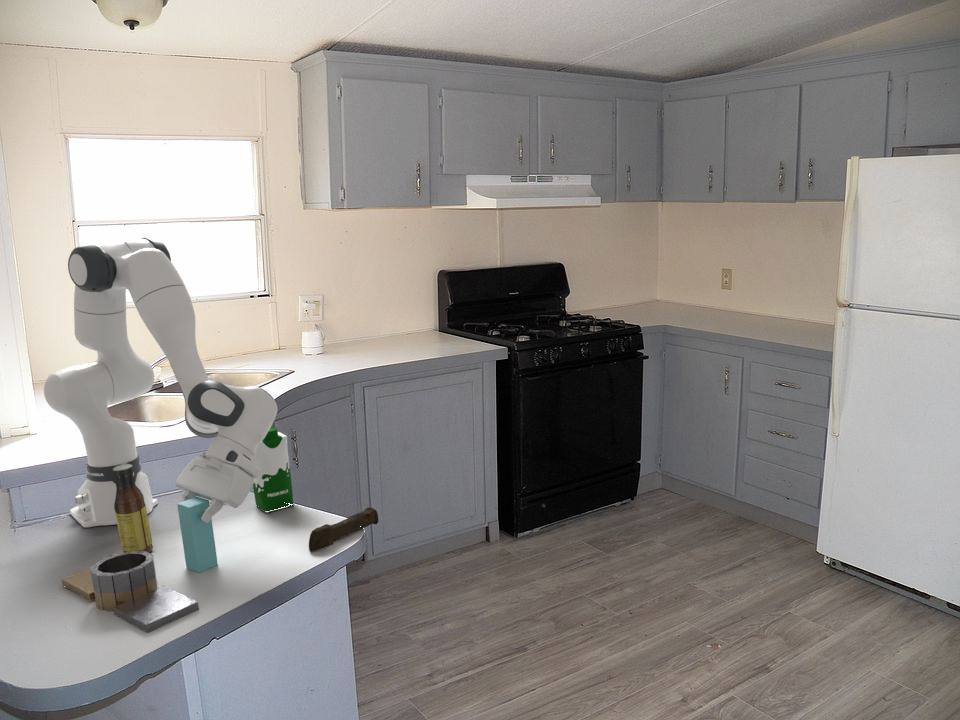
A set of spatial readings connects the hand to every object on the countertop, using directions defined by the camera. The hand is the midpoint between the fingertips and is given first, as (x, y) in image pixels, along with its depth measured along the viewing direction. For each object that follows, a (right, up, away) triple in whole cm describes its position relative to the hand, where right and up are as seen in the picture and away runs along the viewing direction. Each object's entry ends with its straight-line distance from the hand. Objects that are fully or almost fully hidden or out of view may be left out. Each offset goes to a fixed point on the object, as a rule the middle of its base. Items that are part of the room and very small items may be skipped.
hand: (192, 517), depth 166 cm
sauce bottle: (-16, -10, +12) cm, 22 cm away
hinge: (-9, -13, -10) cm, 19 cm away
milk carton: (+8, -4, +35) cm, 36 cm away
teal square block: (+1, -11, +2) cm, 11 cm away
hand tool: (+29, -7, +13) cm, 33 cm away
